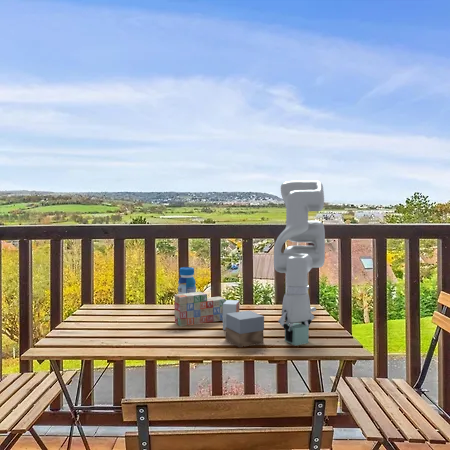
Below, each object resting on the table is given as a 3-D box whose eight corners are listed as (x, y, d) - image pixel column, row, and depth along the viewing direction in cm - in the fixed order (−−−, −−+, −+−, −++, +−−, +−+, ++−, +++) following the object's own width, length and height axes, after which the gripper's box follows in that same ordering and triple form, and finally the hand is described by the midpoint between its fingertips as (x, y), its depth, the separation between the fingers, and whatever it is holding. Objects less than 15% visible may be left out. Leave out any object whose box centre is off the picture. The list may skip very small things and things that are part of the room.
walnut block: (248, 336, 173) (248, 323, 173) (263, 343, 165) (263, 330, 164) (225, 340, 169) (225, 327, 168) (239, 348, 160) (239, 334, 160)
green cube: (297, 338, 170) (298, 322, 170) (308, 342, 165) (308, 326, 164) (284, 341, 167) (284, 324, 167) (295, 345, 162) (295, 328, 161)
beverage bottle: (195, 312, 210) (195, 269, 209) (177, 312, 211) (176, 269, 210) (196, 308, 219) (196, 266, 218) (179, 308, 219) (178, 266, 218)
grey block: (249, 323, 173) (249, 310, 173) (264, 330, 164) (264, 316, 164) (226, 327, 168) (226, 313, 168) (239, 334, 160) (239, 319, 159)
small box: (236, 330, 180) (236, 304, 180) (222, 330, 181) (222, 303, 181) (239, 325, 188) (239, 300, 188) (226, 324, 189) (226, 299, 189)
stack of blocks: (219, 317, 203) (219, 289, 202) (226, 320, 197) (226, 291, 197) (174, 323, 193) (174, 294, 192) (180, 326, 187) (179, 296, 187)
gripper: (308, 286, 172) (308, 333, 173) (271, 290, 164) (270, 340, 165) (322, 289, 166) (321, 338, 167) (283, 294, 157) (283, 346, 158)
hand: (296, 339), depth 166 cm, fingers closed on green cube, 6 cm apart
